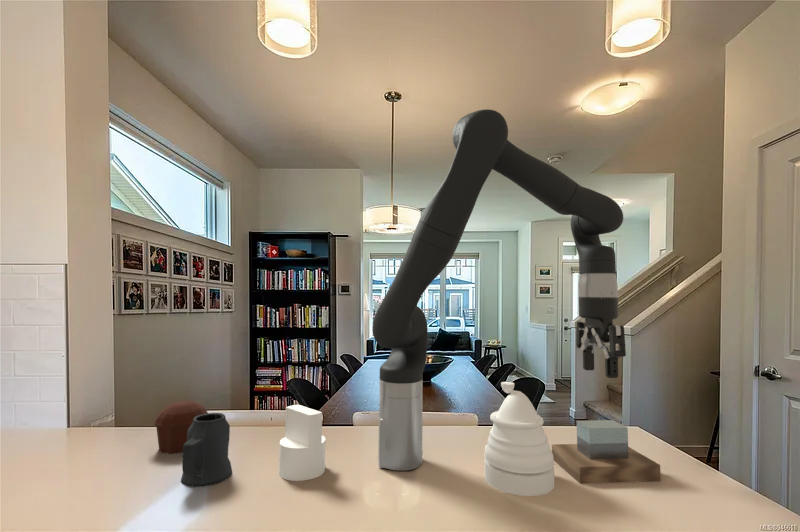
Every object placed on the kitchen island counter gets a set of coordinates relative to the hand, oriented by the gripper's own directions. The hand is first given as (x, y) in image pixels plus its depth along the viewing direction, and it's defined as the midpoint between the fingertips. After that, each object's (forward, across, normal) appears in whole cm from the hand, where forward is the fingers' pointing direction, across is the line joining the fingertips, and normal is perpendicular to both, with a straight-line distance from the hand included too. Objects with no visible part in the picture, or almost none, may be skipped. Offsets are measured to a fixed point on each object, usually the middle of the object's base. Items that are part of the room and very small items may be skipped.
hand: (599, 373), depth 86 cm
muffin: (+20, +18, +91) cm, 95 cm away
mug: (+20, 0, +79) cm, 82 cm away
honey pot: (+20, -4, +19) cm, 28 cm away
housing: (+16, 0, 0) cm, 16 cm away
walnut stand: (+19, 0, 0) cm, 19 cm away
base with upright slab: (+20, +3, +61) cm, 64 cm away
